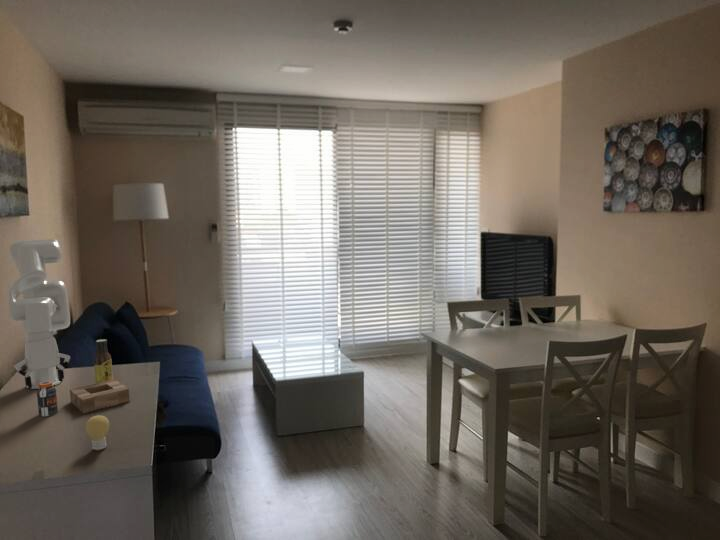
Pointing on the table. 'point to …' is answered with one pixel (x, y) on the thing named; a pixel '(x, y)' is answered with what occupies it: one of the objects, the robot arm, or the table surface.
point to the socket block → (99, 395)
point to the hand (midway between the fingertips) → (45, 384)
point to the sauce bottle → (102, 363)
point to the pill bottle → (47, 399)
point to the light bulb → (97, 431)
